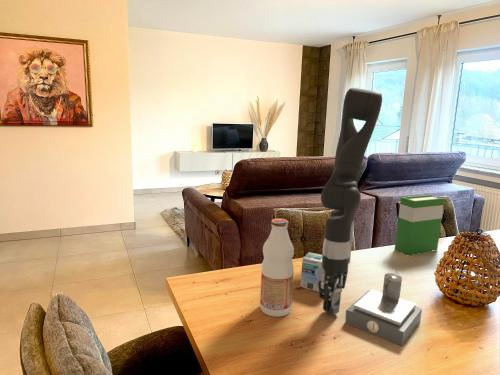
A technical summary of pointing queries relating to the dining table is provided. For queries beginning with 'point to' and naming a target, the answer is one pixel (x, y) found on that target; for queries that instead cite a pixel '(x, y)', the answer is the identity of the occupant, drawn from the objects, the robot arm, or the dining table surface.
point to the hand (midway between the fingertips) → (331, 306)
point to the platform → (385, 307)
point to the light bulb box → (312, 271)
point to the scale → (384, 324)
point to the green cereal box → (419, 224)
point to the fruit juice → (277, 271)
